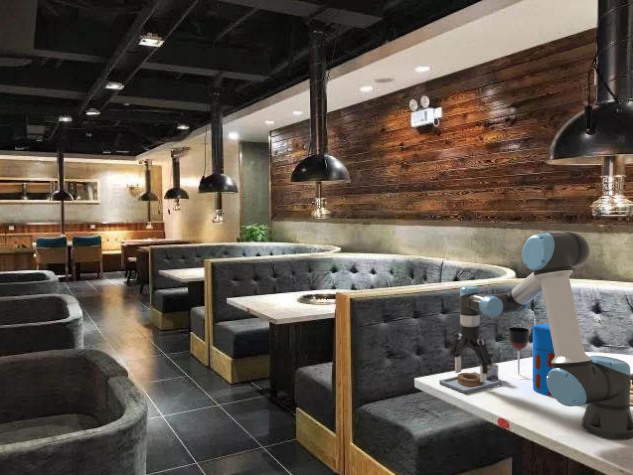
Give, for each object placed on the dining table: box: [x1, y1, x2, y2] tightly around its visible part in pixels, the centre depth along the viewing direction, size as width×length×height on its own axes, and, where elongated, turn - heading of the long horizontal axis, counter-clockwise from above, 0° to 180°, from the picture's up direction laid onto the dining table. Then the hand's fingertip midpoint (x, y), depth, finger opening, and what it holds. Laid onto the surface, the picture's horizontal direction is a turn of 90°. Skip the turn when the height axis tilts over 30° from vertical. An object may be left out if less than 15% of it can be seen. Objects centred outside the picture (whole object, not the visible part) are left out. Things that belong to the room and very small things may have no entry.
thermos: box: [532, 323, 555, 396], centre depth 203 cm, size 11×11×25 cm
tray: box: [438, 371, 502, 395], centre depth 213 cm, size 14×20×2 cm
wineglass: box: [508, 326, 530, 380], centre depth 221 cm, size 8×9×20 cm
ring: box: [457, 372, 483, 387], centre depth 213 cm, size 10×10×2 cm
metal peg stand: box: [480, 351, 500, 381], centre depth 218 cm, size 7×7×11 cm
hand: (470, 376), depth 212 cm, fingers open, 13 cm apart
